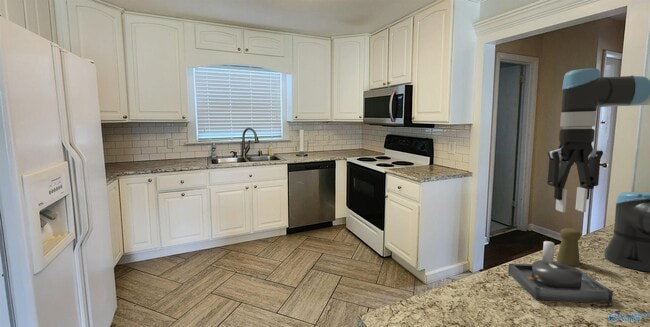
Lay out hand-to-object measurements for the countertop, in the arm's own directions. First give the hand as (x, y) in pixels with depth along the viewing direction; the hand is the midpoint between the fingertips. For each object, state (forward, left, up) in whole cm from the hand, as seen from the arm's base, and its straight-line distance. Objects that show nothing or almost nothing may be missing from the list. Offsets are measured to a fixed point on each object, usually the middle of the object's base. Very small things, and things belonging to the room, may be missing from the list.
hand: (570, 210), depth 88 cm
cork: (-9, -13, -21) cm, 26 cm away
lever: (+5, +4, -19) cm, 20 cm away
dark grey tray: (+5, +4, -21) cm, 22 cm away
